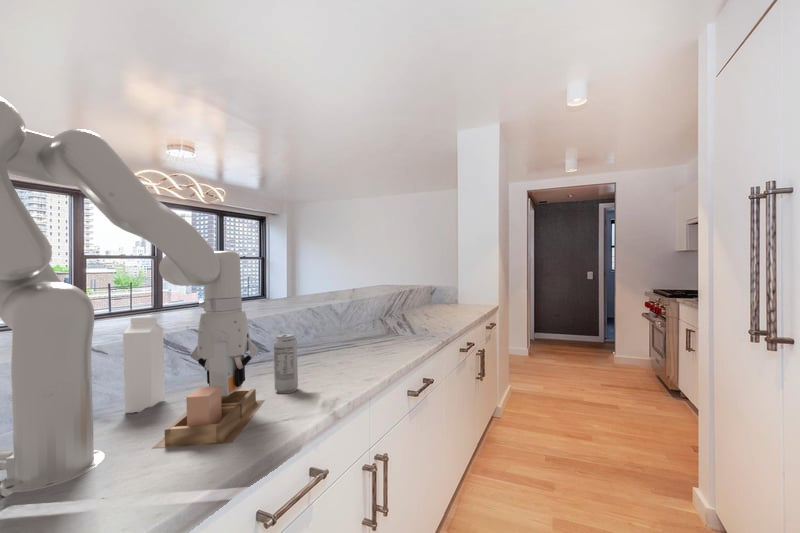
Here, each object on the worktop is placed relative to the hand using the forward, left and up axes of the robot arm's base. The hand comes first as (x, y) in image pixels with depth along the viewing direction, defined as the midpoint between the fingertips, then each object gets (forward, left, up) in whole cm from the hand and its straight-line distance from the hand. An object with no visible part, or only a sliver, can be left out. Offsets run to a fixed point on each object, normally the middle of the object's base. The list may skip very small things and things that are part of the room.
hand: (226, 385), depth 84 cm
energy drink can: (+10, +15, -7) cm, 20 cm away
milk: (-22, +8, -7) cm, 25 cm away
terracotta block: (0, -11, -6) cm, 13 cm away
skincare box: (0, 0, -2) cm, 2 cm away
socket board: (0, -6, -7) cm, 9 cm away
